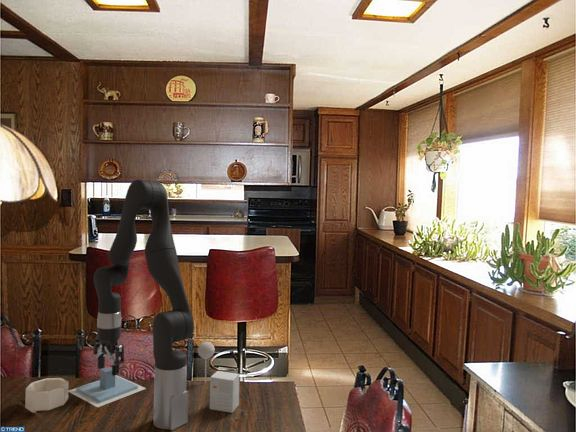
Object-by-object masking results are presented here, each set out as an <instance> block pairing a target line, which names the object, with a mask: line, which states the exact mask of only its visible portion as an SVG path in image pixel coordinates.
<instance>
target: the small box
mask: <svg viewBox="0 0 576 432" xmlns="http://www.w3.org/2000/svg"><path fill="white" fill-rule="evenodd" d="M239 405H240V374H239V373H236V372H229V371H228V372H227V371H221V370H216V371H215V372H214V373H213V374H212V375H211V376H210V378H209V410H212V411H220V412H225V413H231V414H233V413H234V411H235V410H236V409H237V408H238V407H239Z"/></svg>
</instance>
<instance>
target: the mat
mask: <svg viewBox="0 0 576 432" xmlns="http://www.w3.org/2000/svg"><path fill="white" fill-rule="evenodd" d="M115 376H117V377H119V378H121V379H124V380H126V381H128V382H130V383H133V384H135V385H137V386H138V389H136V390H133V391H131V392H128V393H125V394H123V395H120V396H117V397H115V398H112V399H109V400H107V401H104V402H102V403H99V402H97V401H95V400H93V399H91V398H89V397H87V396H85V395H84V394H82V393H80V392H78V391H76V388H77V387H75V388H73V389H68V393H70V394H71V395H74V396H75V397H78V398H79V399H81V400H82V401H85V402H86V403H89V404H91V406H94V407H96V408H100V407H103V406H105V405H107V404H110V403H113V402H115V401H118V400H121V399H124V398H125V397H128V396H131V395H133V394H136V393H138V392H141V391H143V390H144V391H145V390H147V388H146V387H144V386H141V385H140V384H138V383H135V382H133V381H131V380H128V379H126V378H124V377H123V376H122V377H121V376H119V375H115Z"/></svg>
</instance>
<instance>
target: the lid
mask: <svg viewBox="0 0 576 432" xmlns="http://www.w3.org/2000/svg"><path fill="white" fill-rule="evenodd" d="M117 376H118V375H117ZM117 376H113V375H112V366H107V367H104V368H101V369H99V380H96V381H93V382H90V383H86V384H84V385H81V386H77V387H75V388H76V391H78V392H80V393H82V394H84V395H85V396H87V397H89V398H91V399H93V400H95V401H97V402H99V403H102V402H104V401H107V400H109V399H112V398H115V397H117V396H120V395H123V394H125V393H128V392H131V391H133V390H136V389H138V386H137V385H135V384H136V383H135V384H133V383H134V382H133V383H130V382H128V381H126V380H127V379H126V380H124V379H125V378H124V379H121V378H119V377H120V376H119V377H117Z"/></svg>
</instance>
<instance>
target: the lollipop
mask: <svg viewBox="0 0 576 432" xmlns="http://www.w3.org/2000/svg"><path fill="white" fill-rule="evenodd" d="M215 350H216V349H215V346H214V345H213V343H212V342H209V341H203V342H201V343H200V344H199V346H198V347H197V353H198V356H199V357H200V358H202V359H204V384H206V383H207V361H208V360H207V359H210V358H212V356H214V354H215V352H216V351H215Z"/></svg>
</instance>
